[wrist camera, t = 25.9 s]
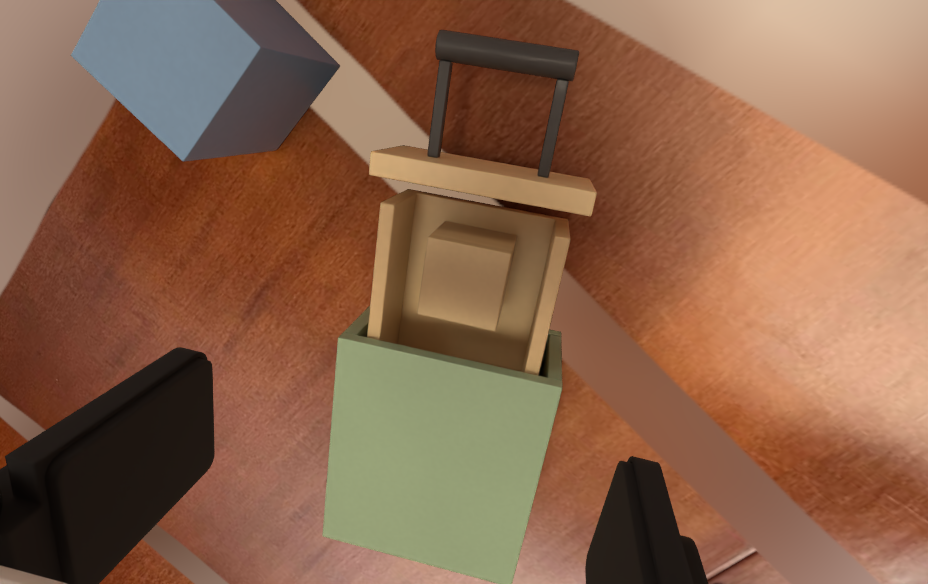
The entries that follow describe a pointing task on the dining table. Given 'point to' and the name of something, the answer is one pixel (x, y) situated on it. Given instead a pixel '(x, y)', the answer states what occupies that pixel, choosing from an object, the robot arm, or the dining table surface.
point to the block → (466, 274)
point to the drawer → (478, 218)
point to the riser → (206, 71)
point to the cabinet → (436, 453)
